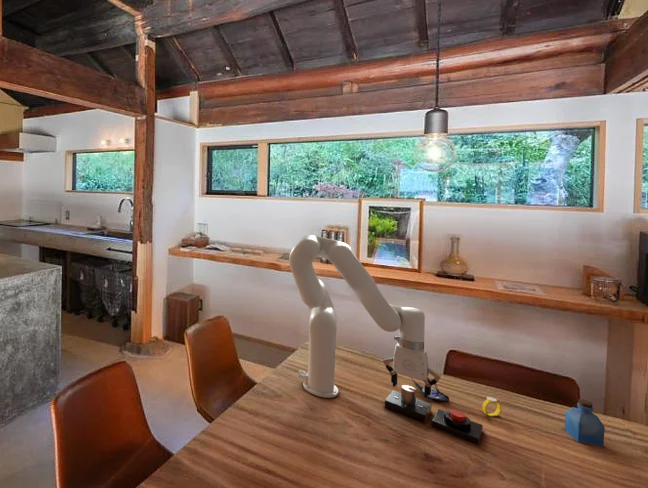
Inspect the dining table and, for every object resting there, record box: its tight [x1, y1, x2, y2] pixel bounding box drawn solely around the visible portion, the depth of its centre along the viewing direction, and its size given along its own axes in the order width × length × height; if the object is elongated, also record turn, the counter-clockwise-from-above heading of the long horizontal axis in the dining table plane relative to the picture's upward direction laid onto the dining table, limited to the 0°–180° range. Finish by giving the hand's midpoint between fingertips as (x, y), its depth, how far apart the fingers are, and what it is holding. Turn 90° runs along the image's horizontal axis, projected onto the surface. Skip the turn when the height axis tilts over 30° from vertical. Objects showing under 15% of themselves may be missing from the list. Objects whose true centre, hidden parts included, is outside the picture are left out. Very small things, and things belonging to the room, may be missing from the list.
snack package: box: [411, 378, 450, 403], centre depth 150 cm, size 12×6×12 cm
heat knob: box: [400, 384, 417, 405], centre depth 140 cm, size 4×4×5 cm
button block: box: [431, 408, 484, 446], centre depth 130 cm, size 12×10×4 cm
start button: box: [449, 409, 466, 422], centre depth 130 cm, size 4×4×2 cm
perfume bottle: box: [564, 398, 606, 447], centre depth 126 cm, size 6×6×12 cm
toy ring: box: [481, 396, 502, 417], centre depth 138 cm, size 6×3×6 cm, turn 93°
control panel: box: [384, 389, 432, 425], centre depth 140 cm, size 12×10×3 cm
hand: (410, 390), depth 139 cm, fingers open, 9 cm apart
